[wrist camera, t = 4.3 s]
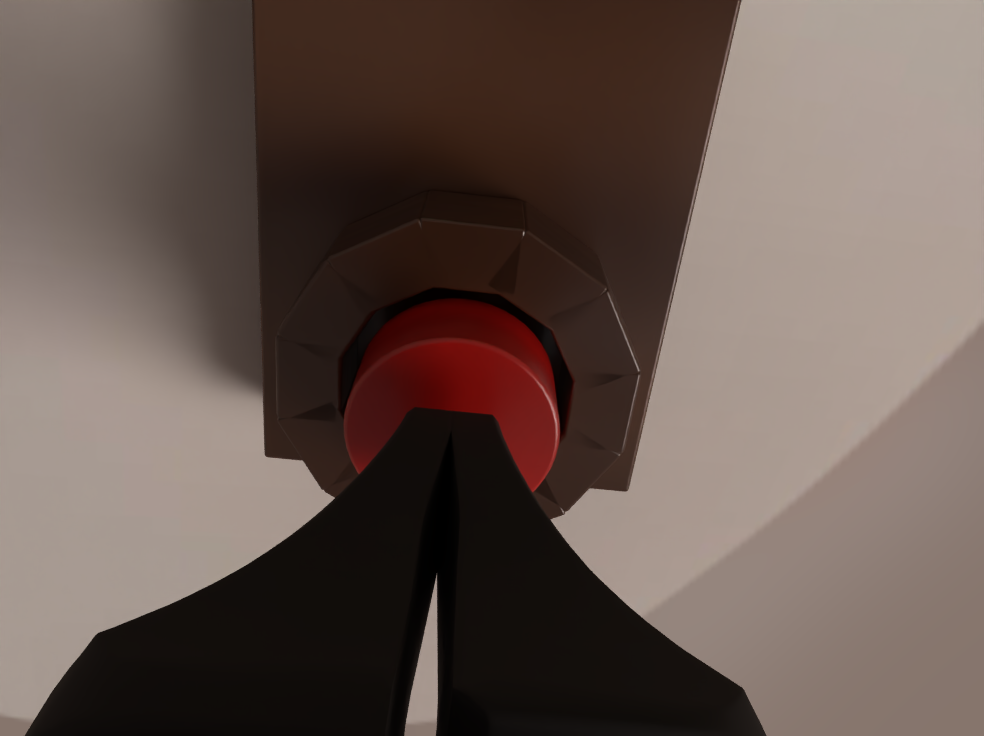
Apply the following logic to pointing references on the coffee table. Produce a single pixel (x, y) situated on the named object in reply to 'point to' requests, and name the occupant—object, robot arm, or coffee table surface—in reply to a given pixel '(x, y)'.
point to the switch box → (479, 197)
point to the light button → (456, 380)
